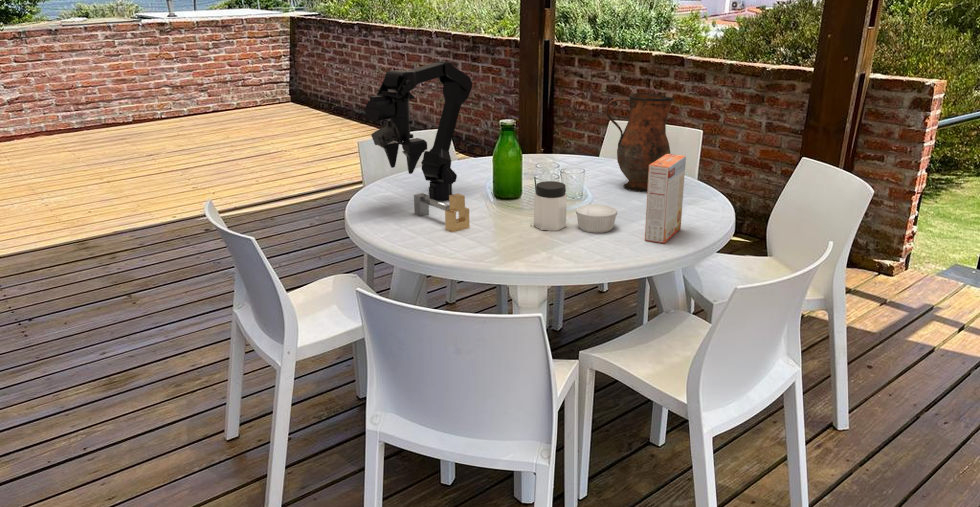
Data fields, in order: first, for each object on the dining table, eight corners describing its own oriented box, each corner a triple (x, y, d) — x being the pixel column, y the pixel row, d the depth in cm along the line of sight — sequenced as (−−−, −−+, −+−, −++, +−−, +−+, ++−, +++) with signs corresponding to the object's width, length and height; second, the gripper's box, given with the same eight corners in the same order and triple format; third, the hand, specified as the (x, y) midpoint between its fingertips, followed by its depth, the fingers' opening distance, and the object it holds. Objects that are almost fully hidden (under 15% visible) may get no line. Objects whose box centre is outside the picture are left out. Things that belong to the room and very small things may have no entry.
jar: (570, 229, 216) (572, 187, 212) (545, 233, 213) (546, 190, 209) (554, 220, 224) (555, 179, 219) (529, 223, 220) (530, 182, 216)
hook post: (423, 213, 230) (422, 192, 228) (454, 225, 219) (453, 203, 217) (411, 216, 227) (410, 194, 225) (441, 228, 217) (440, 206, 214)
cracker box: (660, 226, 218) (665, 152, 211) (681, 229, 215) (687, 155, 208) (642, 240, 207) (647, 163, 200) (664, 244, 204) (670, 166, 197)
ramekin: (568, 224, 220) (568, 206, 218) (602, 219, 224) (603, 202, 222) (588, 236, 210) (589, 218, 208) (623, 231, 214) (624, 213, 213)
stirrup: (462, 225, 217) (462, 192, 214) (469, 228, 215) (469, 194, 212) (445, 230, 214) (444, 196, 210) (452, 233, 212) (451, 198, 208)
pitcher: (671, 194, 247) (679, 99, 237) (604, 194, 248) (609, 99, 238) (662, 181, 263) (669, 91, 252) (599, 180, 264) (603, 91, 253)
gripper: (357, 115, 222) (360, 168, 228) (393, 125, 209) (396, 181, 214) (390, 110, 229) (392, 163, 234) (427, 120, 216) (429, 175, 221)
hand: (401, 170), depth 226 cm, fingers open, 9 cm apart
